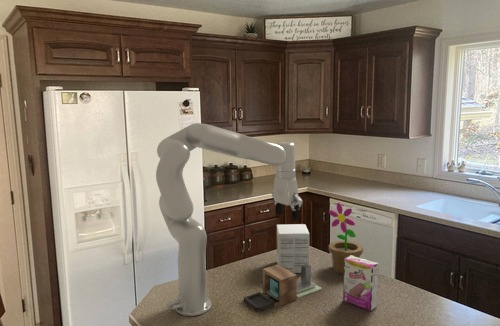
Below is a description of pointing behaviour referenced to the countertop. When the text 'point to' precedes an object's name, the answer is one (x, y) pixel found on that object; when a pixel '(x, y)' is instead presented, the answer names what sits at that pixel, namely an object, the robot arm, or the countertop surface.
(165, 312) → the countertop surface
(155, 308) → the countertop surface
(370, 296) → the candy bar box
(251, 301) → the tray
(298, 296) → the board
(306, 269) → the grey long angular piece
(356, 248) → the flowerpot
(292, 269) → the supplement box
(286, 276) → the tunnel
